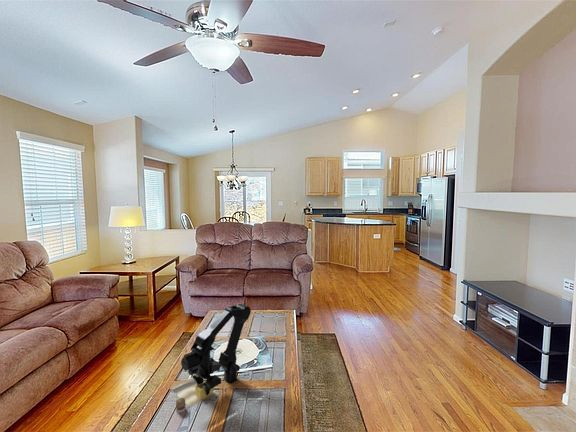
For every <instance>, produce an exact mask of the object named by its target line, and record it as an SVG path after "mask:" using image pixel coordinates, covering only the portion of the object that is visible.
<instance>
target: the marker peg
mask: <svg viewBox="0 0 576 432" xmlns="http://www.w3.org/2000/svg"><path fill="white" fill-rule="evenodd" d="M175 406H176V407H175V410H176V411H175V412H176V413H178V414H181V413H184V412H185V411H186V403H185V399H184V398H180V397H179V398H177V399H176V401H175Z"/></svg>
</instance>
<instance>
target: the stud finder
mask: <svg viewBox="0 0 576 432" xmlns="http://www.w3.org/2000/svg"><path fill="white" fill-rule="evenodd" d="M204 383H206V380H205V381H203V383H201V384H199V385H197V386H195V393H196V396H197V397H198V398H199V399H200V400H201V399H203V398H205V397H207V396H209V395H210V394H212V393H214V391H215V390H214V388H215V387H214V388H212V389H211V390H210V393H209V395H206V393H205V390H204V387H203V384H204Z"/></svg>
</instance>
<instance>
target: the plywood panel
mask: <svg viewBox="0 0 576 432" xmlns="http://www.w3.org/2000/svg"><path fill="white" fill-rule="evenodd" d="M195 386H197V384H196V382H195V380H194V379H193V377H192V376H191V377H189V378H187V379H185V380H183V381H180V382H178V383H176V384H174V385H172V386H170V387H169V388H170V389H171V391H172V392H174V393H175V395H177V396H178V397H179V398H184V399H185V405H186V406H187V407H189V408H191V407H194V406H195V405H197V404H200V403H201V402H203V401H204V400H207V399H209V398H211V397H212V396H215V395H216V394H217V392H216V391H215V390H214V393H212V394H210V395H209V396H207V397H205V398H203V399H201V400H200V399H199V398H198V397H197V396H196V393H195Z"/></svg>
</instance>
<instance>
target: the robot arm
mask: <svg viewBox="0 0 576 432" xmlns="http://www.w3.org/2000/svg"><path fill="white" fill-rule="evenodd" d="M251 312H252V309H251V308H250V306H247V305H245V304H242V303H238V304H237V305H230V306H226V307H224V310H223V312H221V314H220V315H219V316H218V318H217V319H215V320H214V322H213V323H212V324H211V325H210V326H209V327H208V328H206V329H204V330H202V331H201V332H200V333H199V334H197V336H196V337H195V340H194V342H193V344H192V346H191V348H190V351H191V352H189V353H186V354H184V355H183V357H182V358H181V360H180V365H181V368H182V369H183V371H184V372H187V371H188V375H190V376H191V377H193V379H194V380H195V382H196V384H197V385H199V384H201V383H203V382H205V381H206V383H204V384H203V387H204V390H205V393H206V395H209V393H210V390H211V389H212V388H215V387H218V386H219V385H221V384H222V378H221V377H219V376H218V375H216V374H214V372H220V370H221V369H223V370H224V371H223V373H224V375H223V376H224V382H226V383H229V384H233V383H235V382H237V377H238V376H237V375H238V374H237V373H238V372H240V369H241V366H240V365H239V364H237V359H238V358H237V354H236V353H237V348H238V344H239V342H240V338H241V334H242V331H243V328H244V324H245V323H246V322H247V321H248V320H249V318H250V315H251ZM232 318H233V320H234V322H233V326H232V328H231V331H230V335H229V339H228V342H227V344H226V349H225V350H224V351H223V352H222V351H221V352H220V354H219V358H218V361H217V360H215V359H214V358H212V357H211V351H214V350H215V347H213V344H214V343H215V342H216V337H217V335H218V334H219V332H220V331H221V330H222V329H223V328H224V327H225V326H226V324H227V323H228V322H229V321H230V320H231V319H232ZM213 374H214V375H213ZM204 380H205V381H204Z"/></svg>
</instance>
